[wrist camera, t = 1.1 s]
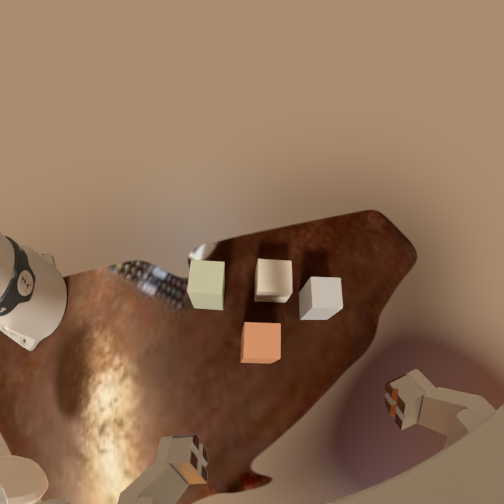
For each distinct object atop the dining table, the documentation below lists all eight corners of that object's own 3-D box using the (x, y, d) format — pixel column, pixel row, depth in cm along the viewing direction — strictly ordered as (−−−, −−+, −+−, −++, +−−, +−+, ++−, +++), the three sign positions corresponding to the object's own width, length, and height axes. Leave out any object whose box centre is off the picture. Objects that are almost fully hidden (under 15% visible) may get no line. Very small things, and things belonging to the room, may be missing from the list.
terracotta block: (240, 362, 39) (243, 357, 32) (241, 333, 41) (244, 322, 34) (270, 363, 39) (280, 358, 32) (271, 334, 41) (280, 323, 34)
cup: (49, 464, 26) (-30, 481, 7) (57, 436, 29) (-27, 445, 10) (81, 489, 25) (10, 524, 6) (91, 461, 28) (13, 491, 10)
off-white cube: (254, 301, 43) (257, 290, 39) (255, 272, 46) (258, 258, 41) (285, 302, 44) (292, 292, 39) (285, 273, 46) (291, 260, 42)
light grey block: (299, 319, 43) (312, 307, 36) (299, 292, 45) (310, 276, 38) (326, 319, 43) (342, 308, 37) (325, 293, 45) (340, 277, 39)
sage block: (194, 307, 42) (187, 291, 35) (197, 281, 44) (191, 259, 37) (223, 310, 42) (222, 293, 35) (224, 282, 44) (224, 261, 37)
